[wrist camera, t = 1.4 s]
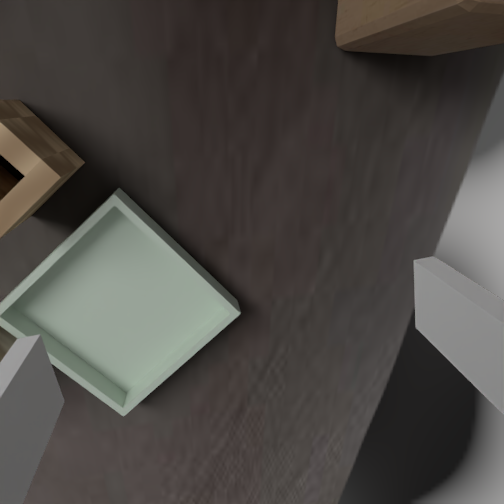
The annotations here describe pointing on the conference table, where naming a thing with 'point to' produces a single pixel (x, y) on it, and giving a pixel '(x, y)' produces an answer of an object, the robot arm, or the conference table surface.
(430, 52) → the block
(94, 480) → the conference table surface
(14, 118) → the oak block
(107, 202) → the sage tray
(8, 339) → the maple block
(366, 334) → the conference table surface
